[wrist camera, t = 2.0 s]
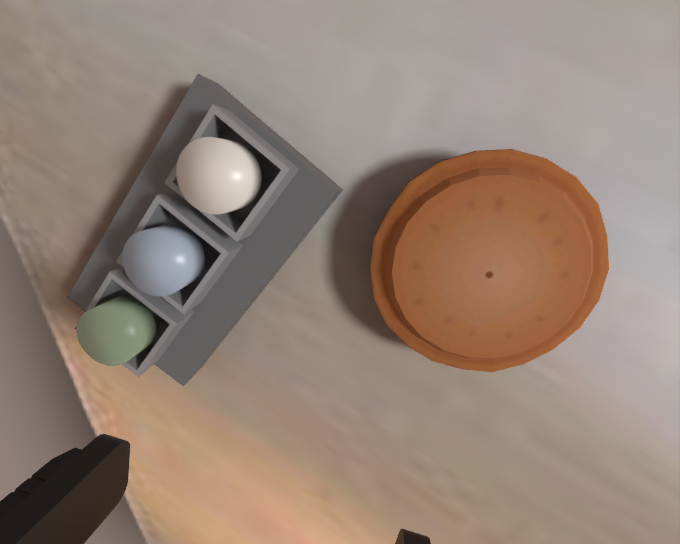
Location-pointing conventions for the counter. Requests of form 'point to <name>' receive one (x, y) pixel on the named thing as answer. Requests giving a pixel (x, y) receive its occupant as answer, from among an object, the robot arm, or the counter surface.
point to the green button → (116, 330)
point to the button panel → (208, 232)
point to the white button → (218, 175)
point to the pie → (489, 260)
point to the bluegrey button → (163, 259)
